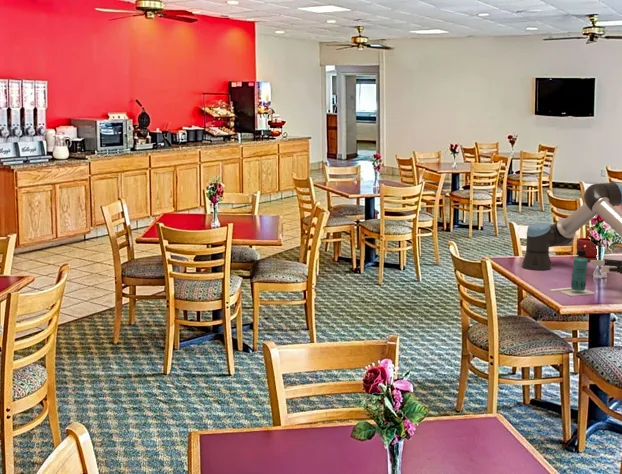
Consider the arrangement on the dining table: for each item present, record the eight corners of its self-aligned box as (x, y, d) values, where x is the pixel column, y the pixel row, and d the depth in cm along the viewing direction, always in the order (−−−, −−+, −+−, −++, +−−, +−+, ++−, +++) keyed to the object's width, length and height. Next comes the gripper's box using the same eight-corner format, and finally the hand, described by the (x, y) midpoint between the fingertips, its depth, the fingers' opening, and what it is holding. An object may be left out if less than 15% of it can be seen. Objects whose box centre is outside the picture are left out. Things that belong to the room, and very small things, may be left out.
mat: (559, 292, 372) (559, 291, 372) (584, 289, 377) (584, 289, 377) (570, 296, 365) (570, 295, 365) (595, 293, 370) (595, 293, 370)
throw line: (549, 290, 375) (549, 289, 375) (584, 287, 382) (584, 286, 382) (551, 291, 373) (551, 290, 373) (586, 288, 380) (586, 287, 380)
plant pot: (603, 262, 438) (605, 241, 436) (579, 262, 438) (581, 241, 436) (595, 257, 451) (596, 237, 449) (572, 257, 451) (573, 236, 449)
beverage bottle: (568, 290, 373) (571, 248, 370) (581, 290, 374) (585, 248, 370) (574, 294, 367) (577, 251, 363) (587, 293, 368) (591, 251, 364)
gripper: (652, 280, 358) (605, 280, 357) (629, 268, 382) (585, 268, 382) (653, 263, 356) (607, 263, 356) (630, 252, 381) (586, 252, 380)
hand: (595, 266), depth 369 cm, fingers open, 13 cm apart
